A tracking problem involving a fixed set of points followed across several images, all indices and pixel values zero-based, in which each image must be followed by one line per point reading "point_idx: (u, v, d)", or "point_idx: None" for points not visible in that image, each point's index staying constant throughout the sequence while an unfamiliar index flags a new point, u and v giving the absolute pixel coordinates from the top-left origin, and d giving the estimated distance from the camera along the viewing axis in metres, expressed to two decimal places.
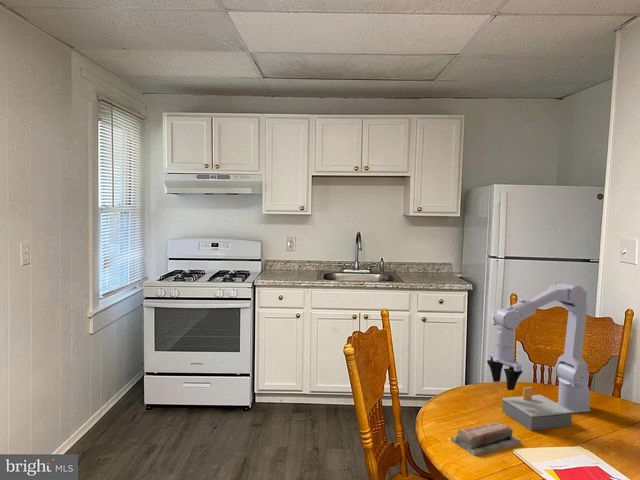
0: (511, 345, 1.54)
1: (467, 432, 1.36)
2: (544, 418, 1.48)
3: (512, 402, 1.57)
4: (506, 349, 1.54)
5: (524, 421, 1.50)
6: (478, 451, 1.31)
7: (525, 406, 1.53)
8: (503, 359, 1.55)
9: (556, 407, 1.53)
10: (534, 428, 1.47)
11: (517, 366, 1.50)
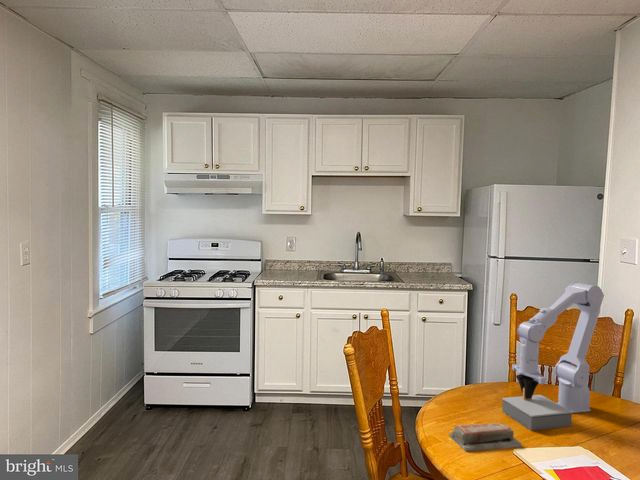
0: (535, 358, 1.56)
1: (462, 428, 1.38)
2: (544, 418, 1.48)
3: (512, 402, 1.57)
4: (530, 362, 1.56)
5: (524, 421, 1.50)
6: (469, 447, 1.33)
7: (525, 406, 1.53)
8: (527, 372, 1.57)
9: (556, 407, 1.53)
10: (534, 428, 1.47)
11: (542, 379, 1.52)
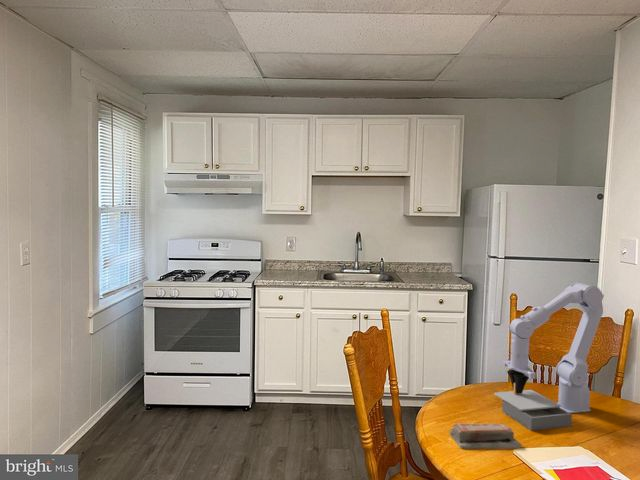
0: (524, 354, 1.61)
1: (461, 426, 1.39)
2: (544, 418, 1.48)
3: (503, 396, 1.61)
4: (521, 357, 1.61)
5: (524, 421, 1.50)
6: (465, 445, 1.34)
7: (515, 401, 1.58)
8: (518, 367, 1.61)
9: (545, 401, 1.58)
10: (534, 428, 1.47)
11: (532, 374, 1.57)
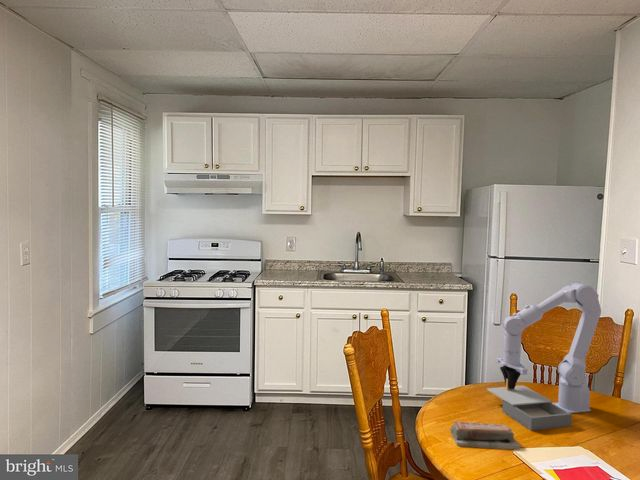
0: (514, 350, 1.65)
1: (460, 424, 1.41)
2: (544, 418, 1.48)
3: (496, 392, 1.65)
4: (513, 354, 1.65)
5: (524, 421, 1.50)
6: (461, 442, 1.36)
7: (507, 396, 1.62)
8: (510, 363, 1.65)
9: (537, 397, 1.62)
10: (534, 428, 1.47)
11: (523, 370, 1.61)
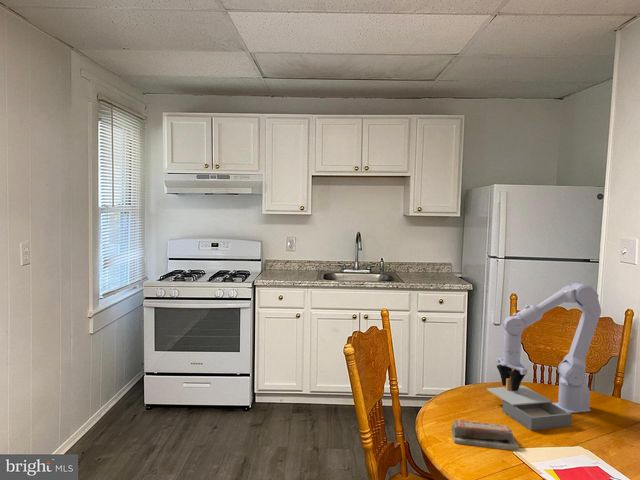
0: (514, 350, 1.65)
1: (460, 422, 1.42)
2: (544, 418, 1.48)
3: (496, 392, 1.65)
4: (513, 354, 1.65)
5: (524, 421, 1.50)
6: (458, 440, 1.37)
7: (507, 396, 1.62)
8: (510, 363, 1.65)
9: (537, 397, 1.62)
10: (534, 428, 1.47)
11: (523, 370, 1.61)
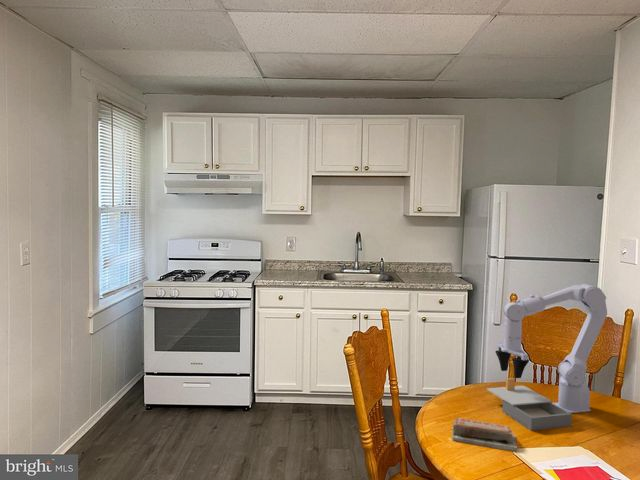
0: (515, 336, 1.65)
1: (460, 420, 1.43)
2: (544, 418, 1.48)
3: (496, 392, 1.65)
4: (514, 340, 1.65)
5: (524, 421, 1.50)
6: (457, 437, 1.39)
7: (507, 396, 1.62)
8: (511, 349, 1.65)
9: (537, 397, 1.62)
10: (534, 428, 1.47)
11: (524, 355, 1.61)
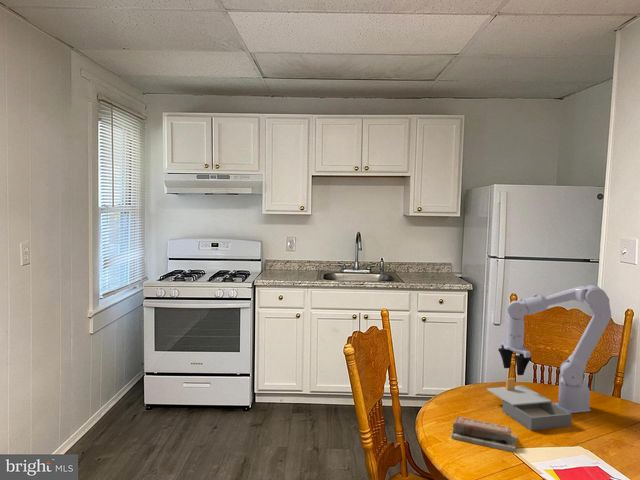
0: (516, 334, 1.68)
1: (461, 419, 1.44)
2: (544, 418, 1.48)
3: (496, 392, 1.65)
4: (516, 337, 1.68)
5: (524, 421, 1.50)
6: (455, 435, 1.40)
7: (507, 396, 1.62)
8: (513, 347, 1.68)
9: (537, 397, 1.62)
10: (534, 428, 1.47)
11: (526, 353, 1.64)
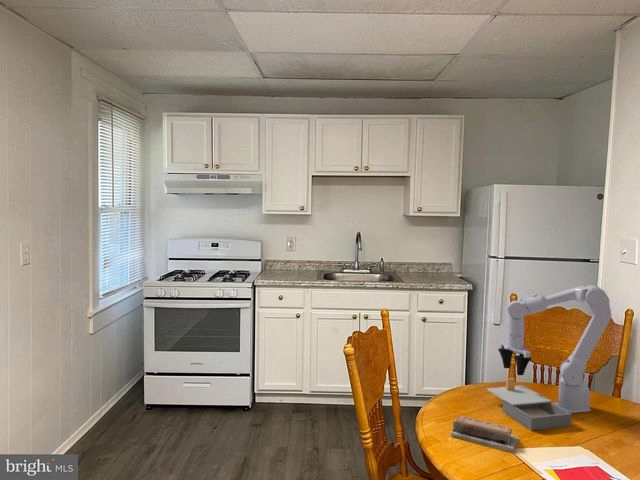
0: (516, 334, 1.68)
1: (462, 418, 1.45)
2: (544, 418, 1.48)
3: (496, 392, 1.65)
4: (516, 337, 1.68)
5: (524, 421, 1.50)
6: (455, 434, 1.41)
7: (507, 396, 1.62)
8: (513, 347, 1.68)
9: (537, 397, 1.62)
10: (534, 428, 1.47)
11: (526, 353, 1.64)
